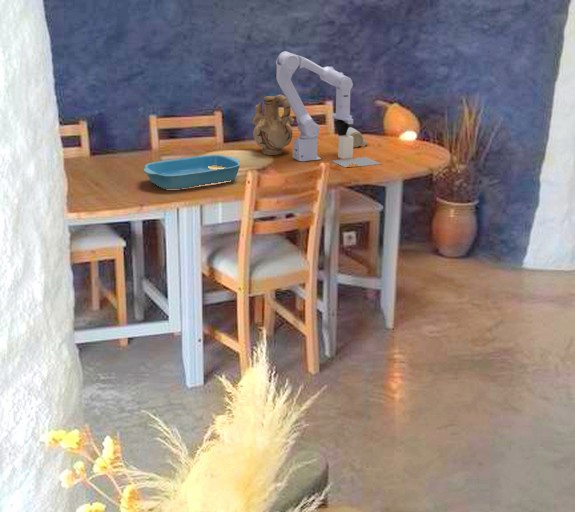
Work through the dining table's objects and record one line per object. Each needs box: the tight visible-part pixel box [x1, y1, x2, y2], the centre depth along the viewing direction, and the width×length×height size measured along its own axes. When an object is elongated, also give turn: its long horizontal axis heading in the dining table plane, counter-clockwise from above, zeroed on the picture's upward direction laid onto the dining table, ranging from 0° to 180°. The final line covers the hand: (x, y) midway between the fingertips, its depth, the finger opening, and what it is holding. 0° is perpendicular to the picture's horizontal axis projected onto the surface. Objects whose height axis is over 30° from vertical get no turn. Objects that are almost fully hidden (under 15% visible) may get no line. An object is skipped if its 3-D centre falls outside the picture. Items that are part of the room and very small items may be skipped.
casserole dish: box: [143, 154, 241, 190], centre depth 324 cm, size 37×22×7 cm, turn 121°
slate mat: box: [331, 156, 382, 168], centre depth 354 cm, size 16×12×1 cm
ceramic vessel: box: [250, 94, 295, 156], centre depth 366 cm, size 18×19×25 cm
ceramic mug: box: [346, 126, 368, 149], centre depth 383 cm, size 11×8×8 cm
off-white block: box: [337, 135, 354, 160], centre depth 361 cm, size 4×4×9 cm
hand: (342, 138), depth 363 cm, fingers closed
